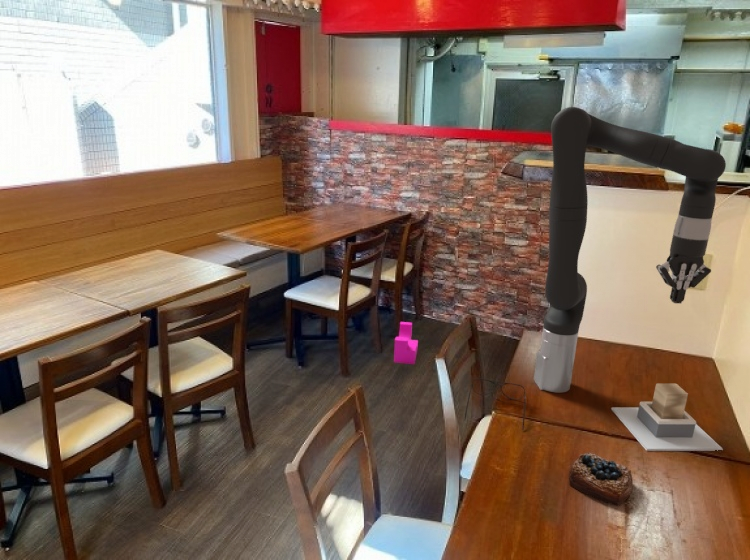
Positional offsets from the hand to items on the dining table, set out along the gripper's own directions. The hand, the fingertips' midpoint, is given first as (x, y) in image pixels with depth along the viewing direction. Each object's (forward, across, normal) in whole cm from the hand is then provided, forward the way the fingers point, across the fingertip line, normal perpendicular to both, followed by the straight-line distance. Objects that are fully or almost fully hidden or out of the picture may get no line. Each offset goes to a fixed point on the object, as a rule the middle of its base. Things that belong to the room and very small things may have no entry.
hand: (676, 302), depth 136 cm
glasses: (+30, -43, -4) cm, 53 cm away
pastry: (+30, -28, -32) cm, 52 cm away
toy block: (+30, -64, +30) cm, 77 cm away
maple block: (+25, -3, -11) cm, 28 cm away
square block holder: (+29, -3, -11) cm, 32 cm away
